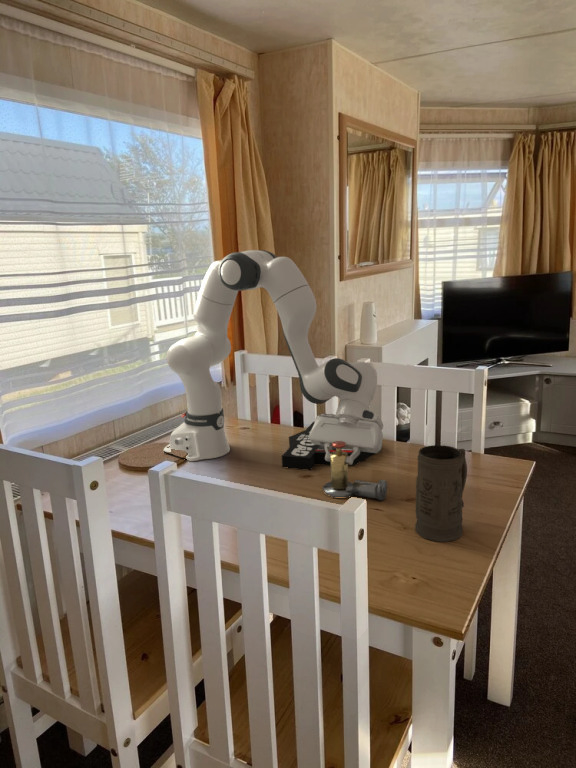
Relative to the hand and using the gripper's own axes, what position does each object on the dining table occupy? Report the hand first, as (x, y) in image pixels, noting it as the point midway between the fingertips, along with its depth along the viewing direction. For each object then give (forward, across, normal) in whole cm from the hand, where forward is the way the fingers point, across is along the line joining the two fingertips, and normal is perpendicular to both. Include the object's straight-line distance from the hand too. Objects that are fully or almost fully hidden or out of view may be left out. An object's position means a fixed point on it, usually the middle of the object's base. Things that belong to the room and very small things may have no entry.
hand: (338, 462), depth 154 cm
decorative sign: (-14, -14, +27) cm, 33 cm away
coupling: (+6, +4, +7) cm, 10 cm away
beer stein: (+12, +30, +1) cm, 32 cm away
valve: (+4, 0, +5) cm, 7 cm away
